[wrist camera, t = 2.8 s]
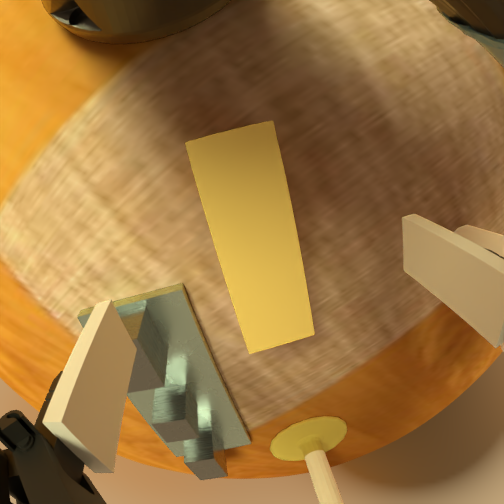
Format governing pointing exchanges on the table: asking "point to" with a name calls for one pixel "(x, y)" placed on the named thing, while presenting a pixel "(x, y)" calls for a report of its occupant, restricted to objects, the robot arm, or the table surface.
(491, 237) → the foam cup
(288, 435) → the candle
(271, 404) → the table surface
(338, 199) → the table surface
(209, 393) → the rail
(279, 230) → the yellow arch-shaped block
